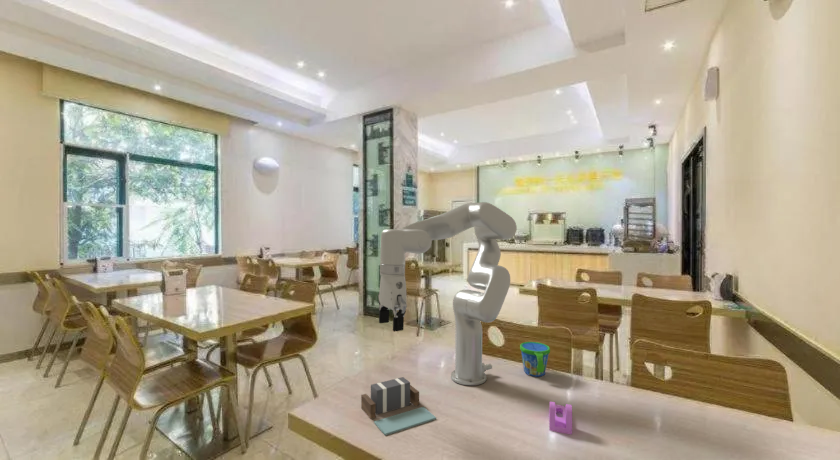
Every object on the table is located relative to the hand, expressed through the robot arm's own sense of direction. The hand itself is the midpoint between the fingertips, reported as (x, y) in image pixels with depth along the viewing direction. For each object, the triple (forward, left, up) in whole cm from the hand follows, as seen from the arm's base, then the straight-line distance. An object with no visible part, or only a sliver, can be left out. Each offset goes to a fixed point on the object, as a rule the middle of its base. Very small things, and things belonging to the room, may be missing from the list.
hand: (390, 326), depth 111 cm
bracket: (-38, +31, -25) cm, 55 cm away
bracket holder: (0, 0, -24) cm, 24 cm away
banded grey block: (0, 0, -24) cm, 24 cm away
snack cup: (-57, +5, -25) cm, 62 cm away
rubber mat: (0, +10, -24) cm, 26 cm away
